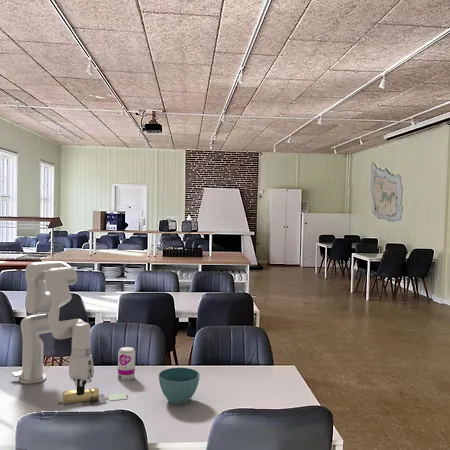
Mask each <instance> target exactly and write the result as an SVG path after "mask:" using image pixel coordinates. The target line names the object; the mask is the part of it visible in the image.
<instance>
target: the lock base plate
mask: <svg viewBox="0 0 450 450" xmlns="http://www.w3.org/2000/svg"><path fill="white" fill-rule="evenodd" d="M81 404H82V406H93V405H101V404H107V400H105V394H104V393H99V399H98V400H95V401H91V400H89V401H82V402H81Z"/></svg>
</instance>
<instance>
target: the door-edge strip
mask: <svg viewBox="0 0 450 450" xmlns="http://www.w3.org/2000/svg"><path fill="white" fill-rule="evenodd" d="M126 396H127V398H128V395H127V394H126ZM105 400H106V401H108V400H109V398H108V396H107V397H105ZM78 403H82V401H79V402H78ZM57 404H58V405H64V404H63V401H58V402H57ZM66 404H67V405H68V404H76V402H70V403H66ZM66 404H65V405H66Z"/></svg>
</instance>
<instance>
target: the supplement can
mask: <svg viewBox="0 0 450 450" xmlns="http://www.w3.org/2000/svg"><path fill="white" fill-rule="evenodd" d="M117 359H118V360H117V362H118V363H117V378H118V380H120V381H123V382H130V381H132V380H133V379H134V378H135V377H136V375H135V373H136V370H135V369H136V351H135V348H134V347H131V346H122V347H120V348H119V350H118V355H117Z"/></svg>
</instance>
